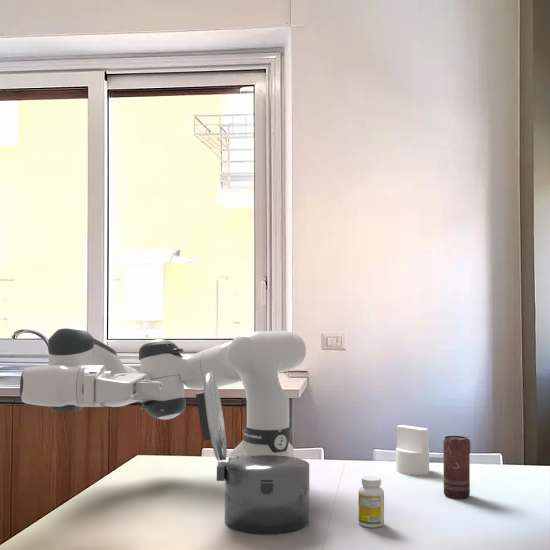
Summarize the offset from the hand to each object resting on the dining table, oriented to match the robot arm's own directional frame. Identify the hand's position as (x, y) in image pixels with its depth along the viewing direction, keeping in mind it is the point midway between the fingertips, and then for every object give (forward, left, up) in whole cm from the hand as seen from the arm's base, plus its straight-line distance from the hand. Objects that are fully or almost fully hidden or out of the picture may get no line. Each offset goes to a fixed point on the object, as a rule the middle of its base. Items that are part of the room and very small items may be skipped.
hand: (160, 386), depth 152 cm
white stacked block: (-3, +77, -29) cm, 83 cm away
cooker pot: (+12, +19, -29) cm, 37 cm away
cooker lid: (+6, +11, -6) cm, 14 cm away
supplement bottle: (+26, +36, -29) cm, 53 cm away
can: (+21, +68, -29) cm, 77 cm away
